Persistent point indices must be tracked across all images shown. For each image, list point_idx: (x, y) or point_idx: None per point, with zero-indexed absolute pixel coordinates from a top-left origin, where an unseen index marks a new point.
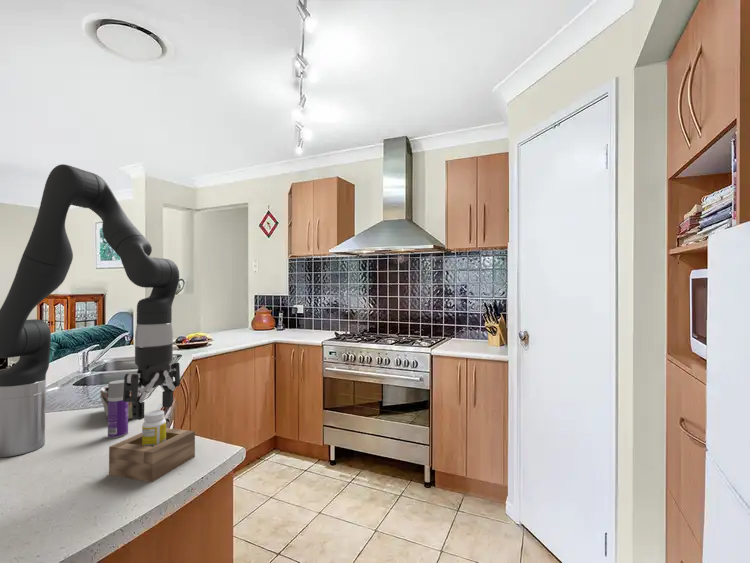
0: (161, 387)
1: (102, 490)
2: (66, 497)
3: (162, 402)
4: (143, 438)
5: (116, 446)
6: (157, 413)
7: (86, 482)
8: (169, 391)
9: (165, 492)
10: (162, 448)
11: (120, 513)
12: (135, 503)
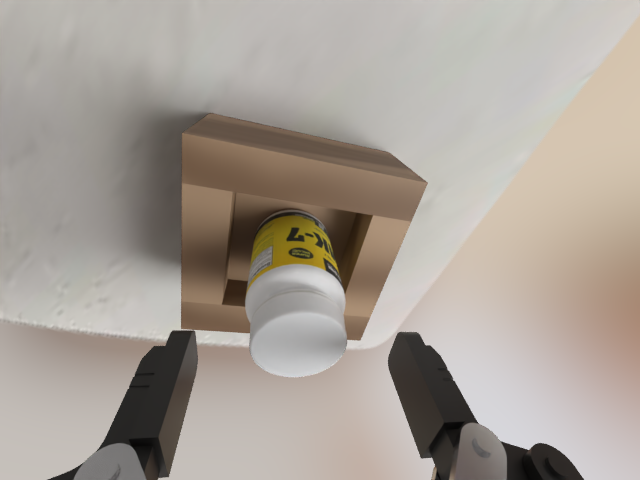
0: (455, 465)
1: (123, 173)
2: (40, 84)
3: (411, 348)
4: (253, 256)
5: (191, 169)
6: (290, 364)
7: (142, 68)
8: (431, 454)
9: (169, 321)
10: (223, 329)
11: (64, 293)
12: (109, 295)
